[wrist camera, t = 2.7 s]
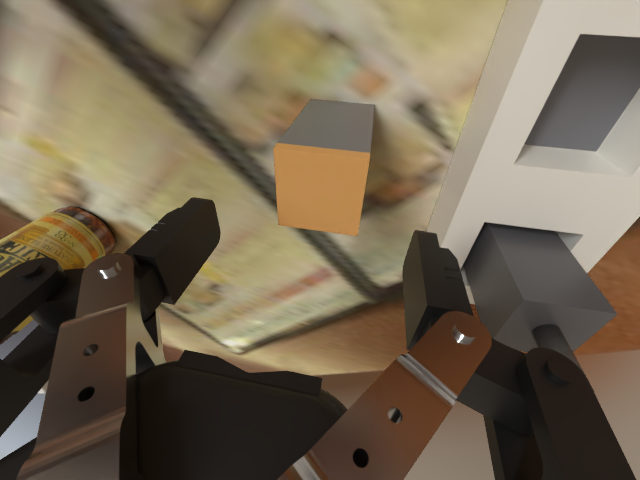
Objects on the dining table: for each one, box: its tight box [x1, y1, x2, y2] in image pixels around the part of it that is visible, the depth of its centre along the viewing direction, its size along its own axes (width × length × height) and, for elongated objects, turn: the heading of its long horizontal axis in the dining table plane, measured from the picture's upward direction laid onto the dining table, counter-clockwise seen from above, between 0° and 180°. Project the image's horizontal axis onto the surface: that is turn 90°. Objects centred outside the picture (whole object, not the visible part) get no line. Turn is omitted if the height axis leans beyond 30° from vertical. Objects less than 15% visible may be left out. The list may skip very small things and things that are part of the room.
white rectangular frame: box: [426, 0, 640, 391], centre depth 14 cm, size 18×9×12 cm, turn 178°
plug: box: [273, 99, 375, 236], centre depth 16 cm, size 4×4×8 cm
